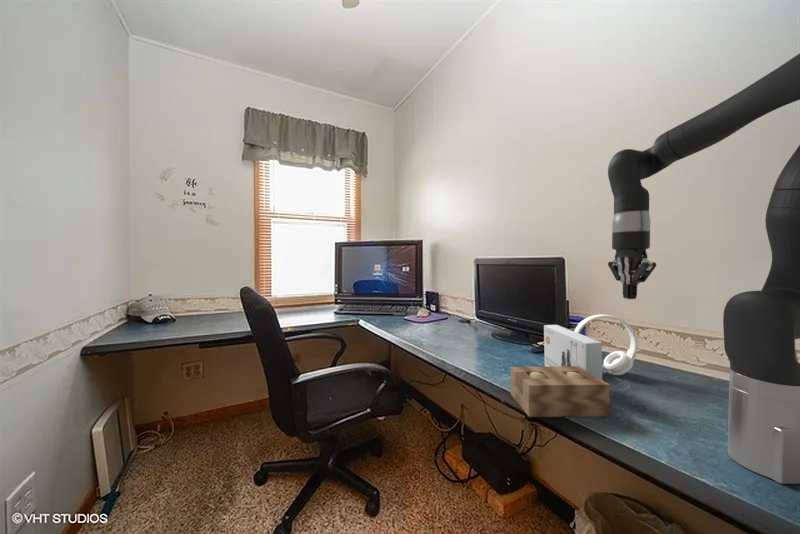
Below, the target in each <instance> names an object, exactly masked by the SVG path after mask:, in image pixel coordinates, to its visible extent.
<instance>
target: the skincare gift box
mask: <svg viewBox="0 0 800 534" xmlns="http://www.w3.org/2000/svg"><path fill="white" fill-rule="evenodd" d="M543 343H544V345H543V347H544V348H543V349H544V353H543V354H544V367H550V366H580V367H582V368H583V369H585V370H586V371H588V372H590V373H591V374H593V375H595V376H596V377H598V378H600V379H601V380H603V369H602V364H603V342H601V341H600V340H597V339H594V338H593V337H589V336H586V335H584V334H581V333H576V332H574V330H572V329H569V328H566V327H564V326H561V325H558V324H547V325H543Z"/></svg>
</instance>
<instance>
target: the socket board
mask: <svg viewBox="0 0 800 534" xmlns="http://www.w3.org/2000/svg"><path fill="white" fill-rule="evenodd" d="M532 372H538V373H542V374H544V375H545V376H546V379H532V378H531V377H530V373H532ZM567 372H576V373H579V374H582V375H583V379H571V378H569V377H568V376H567ZM610 385H611V384H609V383H608V382H606V381H604V380H603V379H602V380H601V379H600V378H598V377H596V376H595V375H593V374H591V373H590V372H588V371H586V370H585V369H583V368H582V367H580V366H550V367H545V366H510V396H512V398H513V399H514V400H515V402H517V404H518V405H519V406H520V408H521V409H522V410H523V411H524V413H525V414H526V415H527V416H528V417H529V418H547V417H548V418H551V417H552V418H553V417H554V418H556V417H557V418H559V417H560V418H561V417H562V416H578V417H610V392H611V391H610V390H611V389H610V388H611V387H610ZM562 418H563V417H562Z"/></svg>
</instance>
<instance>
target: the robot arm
mask: <svg viewBox="0 0 800 534" xmlns="http://www.w3.org/2000/svg"><path fill="white" fill-rule="evenodd" d="M799 100H800V53H797V55H795V56H794V57H792V58H790V59H789V60H787V61H786V62H784V63H783V64H782V65H780V66H778V67H777V68H775V69H774V70H772V71H770V72H769V73H767V74H766V75H764V76H762V77H761V78H759V79H757V80H756V81H754V82H752V83H751V84H750V85H749V86H747V87H745V88H744V89H741V90H740V91H738V92H736V93H735V94H733V95H731V96H730V97H728V98H727V99H725V100H722V102H719V103H718V104H717V105H714V106H713V107H710V108H709V109H707V110H705V111H704V112H702V113H699V114H698V115H695V116H694V117H692V118H690V119H688V120H686V121H684V122H682V123H680V124H678V125H677V126H675V127H673V128H671V129H669V130H667V131H665V132H664V133H662V134H660V135H659V136H658V137H657V138H656V139H655V140H654V143H653V145H652V146H650V147H649V148H646V149H644V150H642V151H641V150H637V149H633V148H631V149H630V148H627V149H626V148H625V149H622V150H619V151H618V152H617V153H615V154H614V155H613V156H612V157H611V159H610V161H609V163H608V166H607V176H608V181H609V185H610V189H611V193H612V195H613V218H612V224H611V226H612V229H611V231H612V233H611V238H612V239H611V248H612V250H613V251H614V250H615V254H614V259H613V261H608V262H607V265H608V267H609V269H610V271H611V273H612V275H613V277H614V278H615V280H616V281H617V282H620V283H621V284H622V298H624V299H627V300H636V299H637V297H638V285H639V284H640V283H641V284H642V283H645V282H646V280H647V279H648V278H649V277H650V275H651V274H652V272H654V270H655V268H656V267H657V263H656V262H654V261H652V262H651V261H650V260H649V259H648V253H647V250H648V249H650V248H651V217H650V192H649V190H648V189H647V188H645V187H644V186H643V185H642V180H645V179H648V178H650V177H652V176H654V175H656V174H657V173H659V172H661V171H662V170H664V169H666V168H667V167H670V166H671V165H673V163H676V162H677V161H680V160H683V159H684V158H687V157H690V156H691V155H694V154H697V153H698V152H701V151H703V150H705V149H707V148H710V147H712V146H714V145H716V144H718V143H719V142H721V141H723V140H725V139H727V138H728V137H730V136H731V135H733V134H735V133H737V132H738V131H739V130H741V129H744V127H746V126H747V125H748V124H751V123H752V122H754V121H756V120H758V119H759V118H761V117H763V116H766V115H767V114H769V113H771V112H772V111H775V110H778V109H780V108H782V107H785V106H787V105H789V104H792V103H795V102H796V101H797V102H798V101H799ZM771 192H772V193H771V194H770V198H769V202H768V205H767V209H766V213H765V229H766V235H767V239H768V243H769V246H770V251H771V258H772V259H771V263H770V264H771V265H770V268H769V272H768V275H767V277H766V279H765V282H764V284H763V287H762V288H761V290H749V291H744V292H739V293H738V294H734V295H733V296H732V297H730V298H729V299H728V300H727V302H726V305H725V306H724V309H723V320H722V322H723V323H722V324H723V345H724V351H725V354H726V356H727V359H728V361H729V384H728V385H729V386H728V388H729V389H728V417H727V418H728V421H727V422H728V425H727V427H728V428H727V455H728V456H729V458H731V459H732V460H733V461H735V462H736V463H737V464H739V465H741V467H744V468H746V469H748V470H749V471H752V472H754V473H756V474H759V475H761V476H764V477H765V478H766V477H767V478H769V479H772V480H774V481H776V482H777V483H778V484H783V485H784V484H785V485H786V484H791V485H792V484H795V485H798V484H800V362H799V361H798V359H797V355H796V340H798V339H799V340H800V144H799V145H798V146H797V148H796V149H795V151H794V153H792V155H791V156H790V158H789V159H788V160H787V162H786V164H784V167H783V168H782V170H781V172H780V173H779V175H778V177H777V179H776V181H775V184H774V186H773V188H772V191H771Z"/></svg>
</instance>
